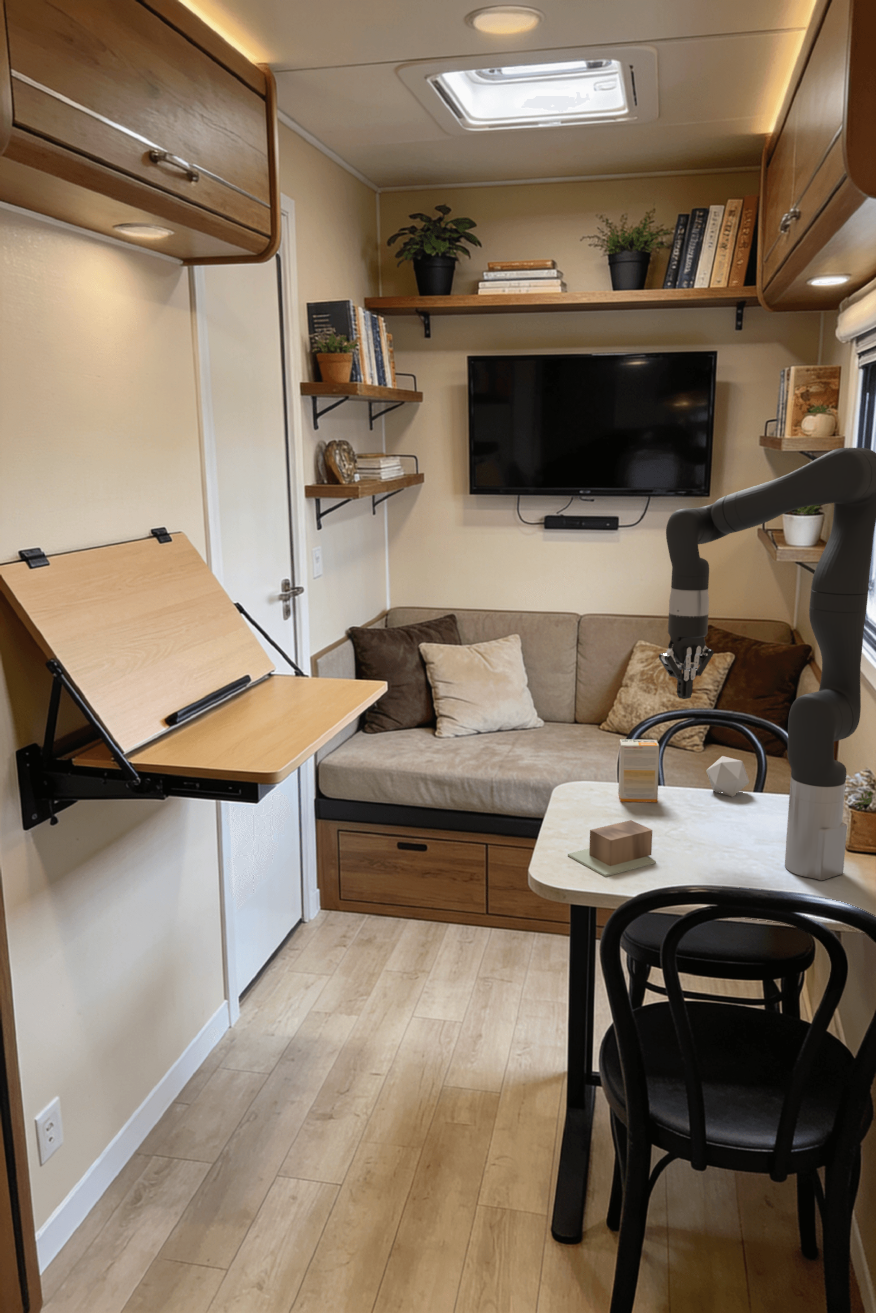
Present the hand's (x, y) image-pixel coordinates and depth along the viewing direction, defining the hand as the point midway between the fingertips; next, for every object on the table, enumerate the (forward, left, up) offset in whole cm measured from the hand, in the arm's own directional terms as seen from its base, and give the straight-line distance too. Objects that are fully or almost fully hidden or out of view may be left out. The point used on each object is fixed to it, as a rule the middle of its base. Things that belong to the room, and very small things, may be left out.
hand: (684, 697), depth 197 cm
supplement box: (+17, -4, -27) cm, 32 cm away
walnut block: (-6, +15, -24) cm, 29 cm away
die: (+10, -24, -27) cm, 38 cm away
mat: (-6, +22, -27) cm, 36 cm away
